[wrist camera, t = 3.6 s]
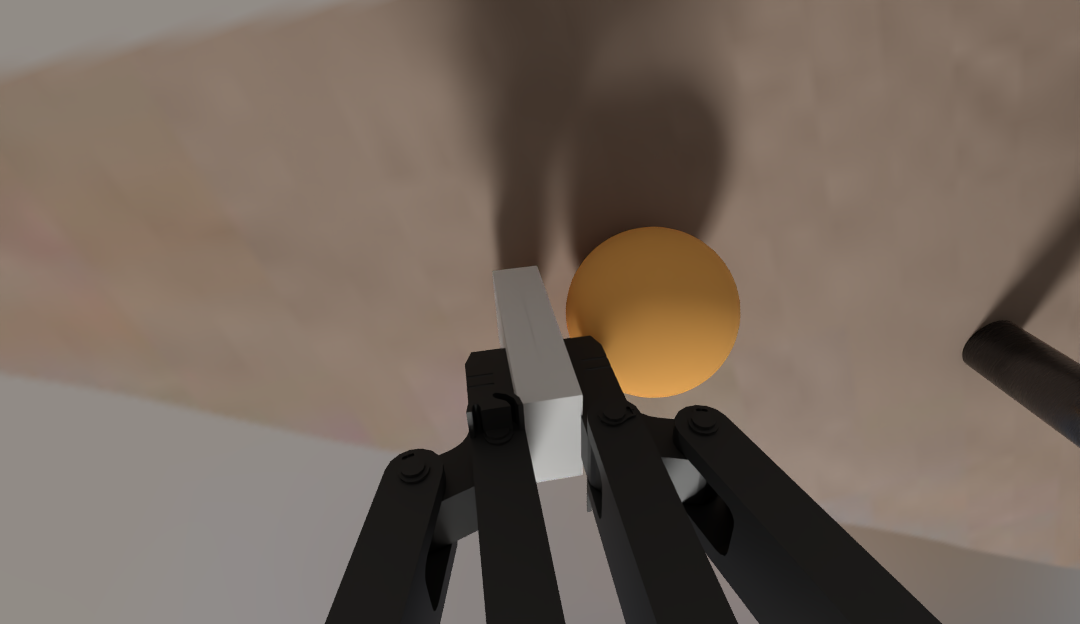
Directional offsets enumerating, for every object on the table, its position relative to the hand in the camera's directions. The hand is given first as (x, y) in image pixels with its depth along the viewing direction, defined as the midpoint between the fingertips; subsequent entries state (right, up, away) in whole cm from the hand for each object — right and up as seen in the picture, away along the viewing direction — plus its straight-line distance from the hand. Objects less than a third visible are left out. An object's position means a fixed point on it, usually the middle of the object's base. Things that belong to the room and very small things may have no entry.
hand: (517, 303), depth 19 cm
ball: (+4, 0, -1) cm, 4 cm away
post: (+22, -2, +7) cm, 23 cm away
